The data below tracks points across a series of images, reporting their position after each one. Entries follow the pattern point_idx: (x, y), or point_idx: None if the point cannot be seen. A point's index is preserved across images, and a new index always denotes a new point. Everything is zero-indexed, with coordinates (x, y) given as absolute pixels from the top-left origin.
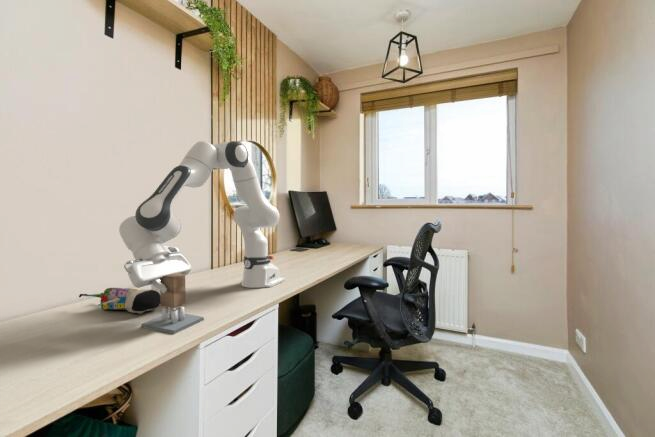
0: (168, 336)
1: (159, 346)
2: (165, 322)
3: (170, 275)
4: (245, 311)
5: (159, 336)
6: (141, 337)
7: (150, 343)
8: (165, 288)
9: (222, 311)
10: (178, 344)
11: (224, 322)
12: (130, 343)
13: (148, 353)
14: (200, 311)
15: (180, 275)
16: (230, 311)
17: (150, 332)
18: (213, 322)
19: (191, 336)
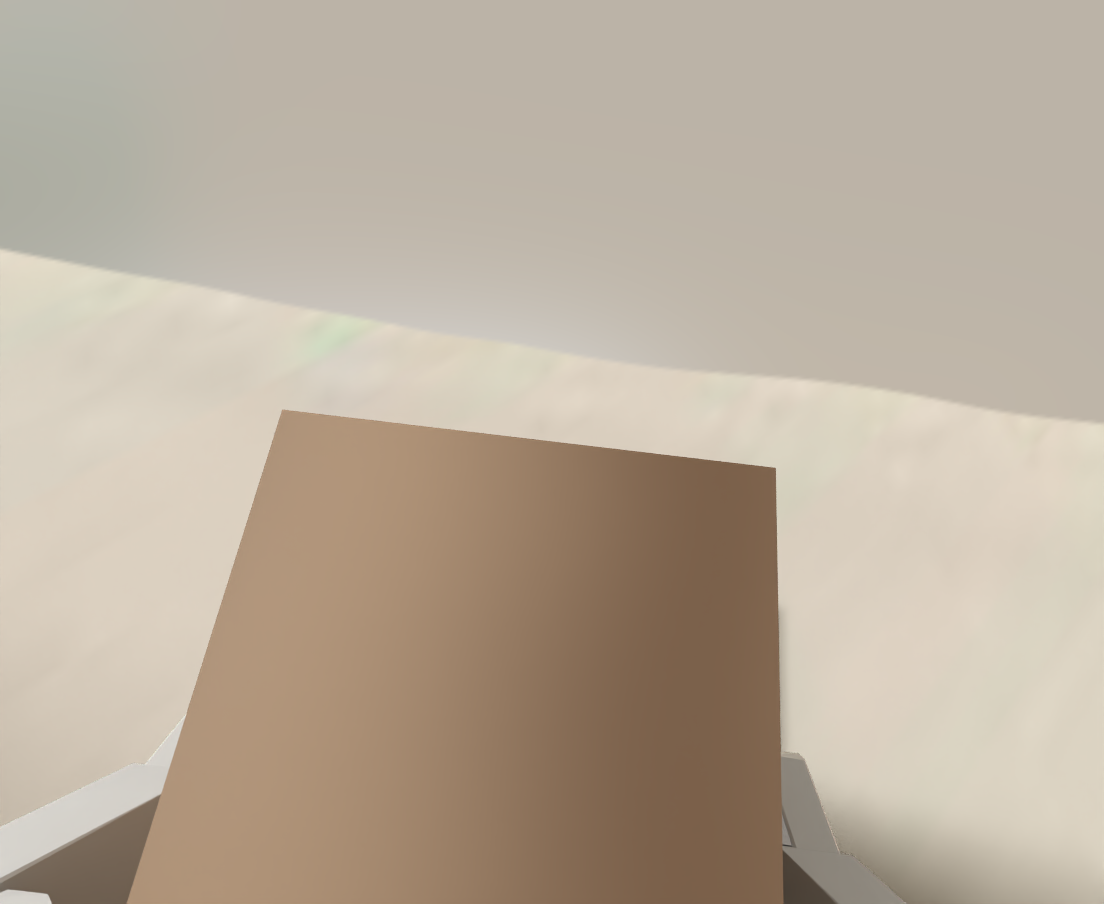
0: (801, 603)
1: (973, 529)
2: None
3: (609, 794)
4: (61, 289)
5: (838, 691)
6: (942, 872)
7: (978, 652)
8: (793, 774)
9: (62, 501)
10: (874, 414)
11: (373, 327)
12: (1085, 860)
13: (1092, 522)
14: (62, 772)
15: (489, 434)
16: (61, 420)
17: None
18: (392, 415)
19: (719, 412)
